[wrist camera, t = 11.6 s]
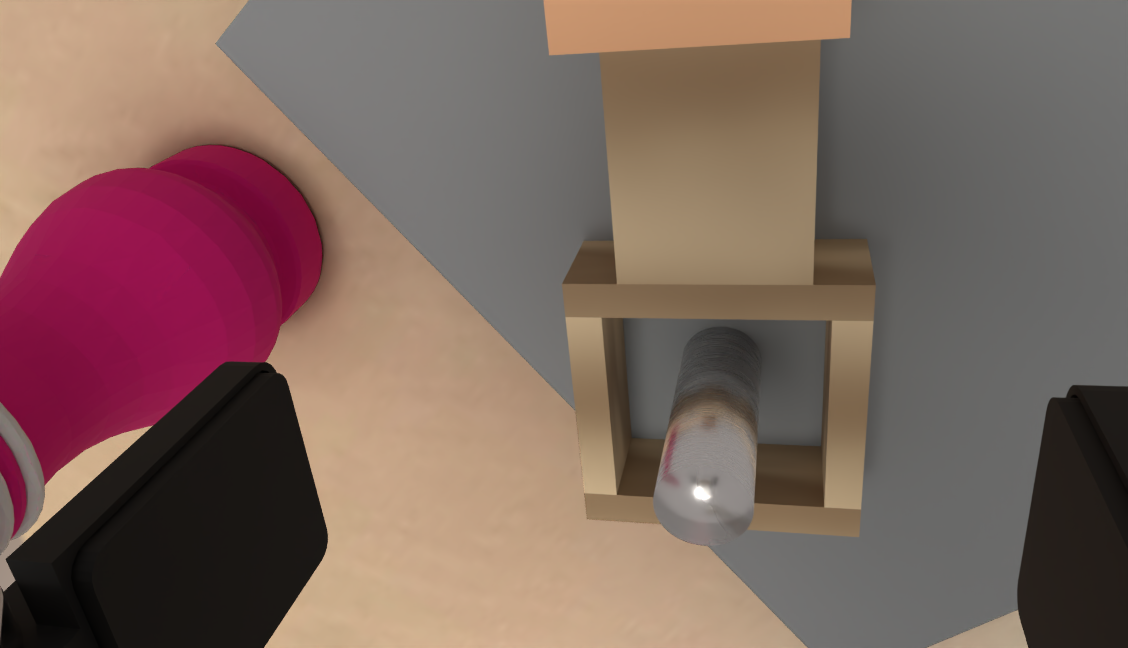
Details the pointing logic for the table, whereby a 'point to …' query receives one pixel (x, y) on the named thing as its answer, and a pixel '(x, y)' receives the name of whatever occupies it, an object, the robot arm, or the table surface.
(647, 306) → the link
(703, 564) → the table surface
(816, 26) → the keeper
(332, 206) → the table surface
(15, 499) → the pepper mill
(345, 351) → the table surface
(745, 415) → the grey rounded rod
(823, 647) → the board
